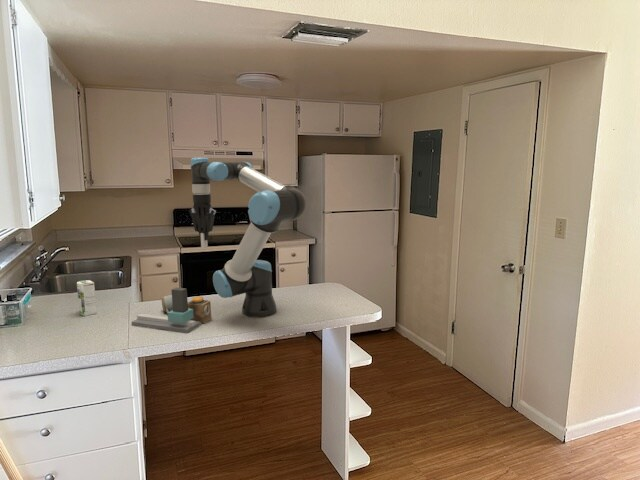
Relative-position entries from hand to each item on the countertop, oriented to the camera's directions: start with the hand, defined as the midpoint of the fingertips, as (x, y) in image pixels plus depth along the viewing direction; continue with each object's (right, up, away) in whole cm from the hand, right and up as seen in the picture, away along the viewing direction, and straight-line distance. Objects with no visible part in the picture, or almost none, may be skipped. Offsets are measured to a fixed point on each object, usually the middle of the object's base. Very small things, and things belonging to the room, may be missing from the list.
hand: (204, 247), depth 195 cm
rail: (-12, -32, -15) cm, 37 cm away
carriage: (-5, -29, -18) cm, 34 cm away
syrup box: (-51, -29, 0) cm, 59 cm away
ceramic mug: (-14, -29, +2) cm, 32 cm away
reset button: (0, -23, -11) cm, 25 cm away
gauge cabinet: (0, -31, -10) cm, 32 cm away
